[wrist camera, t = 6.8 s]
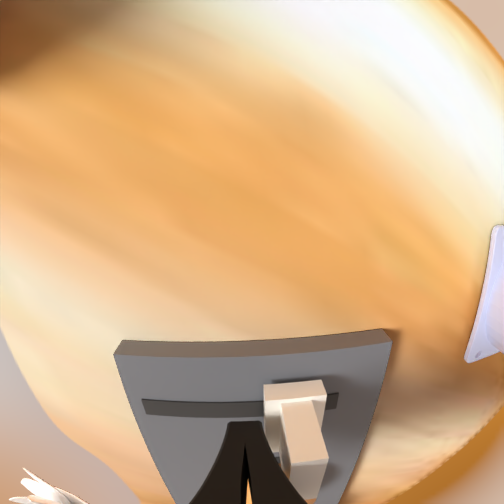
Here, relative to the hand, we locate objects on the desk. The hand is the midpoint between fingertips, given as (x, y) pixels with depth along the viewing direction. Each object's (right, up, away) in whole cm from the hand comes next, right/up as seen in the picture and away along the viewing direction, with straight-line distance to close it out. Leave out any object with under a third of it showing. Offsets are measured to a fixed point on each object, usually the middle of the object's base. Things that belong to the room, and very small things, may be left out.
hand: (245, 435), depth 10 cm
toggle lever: (+2, 0, +2) cm, 3 cm away
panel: (+1, -6, +5) cm, 8 cm away
